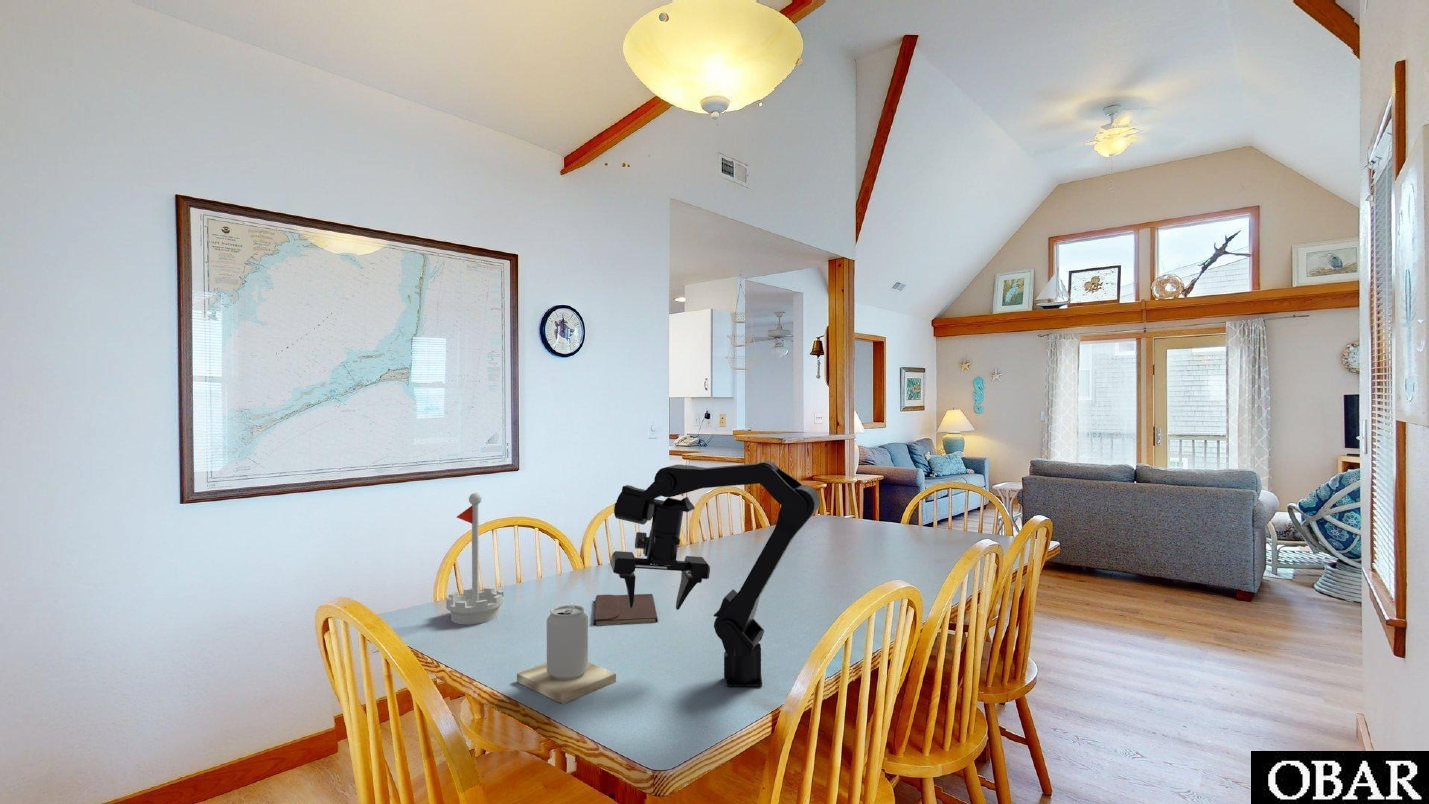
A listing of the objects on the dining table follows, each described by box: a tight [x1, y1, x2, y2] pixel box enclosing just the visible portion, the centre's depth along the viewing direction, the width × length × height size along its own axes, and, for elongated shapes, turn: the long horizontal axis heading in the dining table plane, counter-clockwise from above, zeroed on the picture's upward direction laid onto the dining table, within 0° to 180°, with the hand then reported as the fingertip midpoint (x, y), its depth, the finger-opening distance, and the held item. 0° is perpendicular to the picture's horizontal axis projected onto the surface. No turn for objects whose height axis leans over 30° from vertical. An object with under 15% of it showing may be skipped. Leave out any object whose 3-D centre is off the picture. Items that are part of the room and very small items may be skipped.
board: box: [516, 661, 617, 704], centre depth 123 cm, size 14×12×2 cm
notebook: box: [592, 593, 659, 626], centre depth 165 cm, size 15×20×2 cm
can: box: [546, 604, 589, 680], centre depth 123 cm, size 8×8×12 cm
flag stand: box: [445, 492, 505, 625], centre depth 161 cm, size 13×13×30 cm
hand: (654, 608), depth 129 cm, fingers open, 9 cm apart
